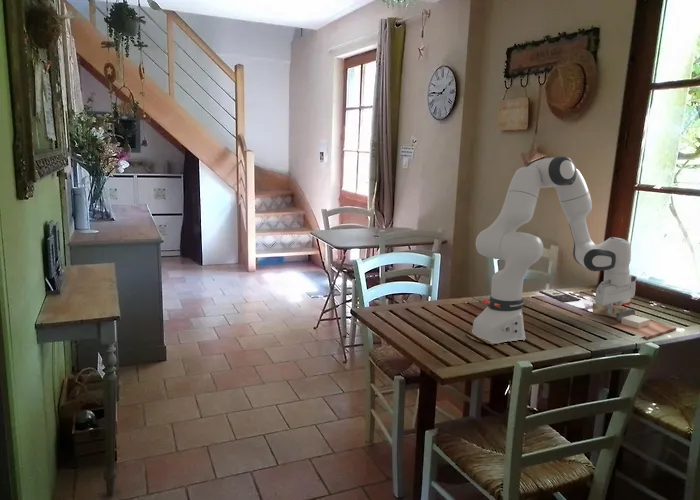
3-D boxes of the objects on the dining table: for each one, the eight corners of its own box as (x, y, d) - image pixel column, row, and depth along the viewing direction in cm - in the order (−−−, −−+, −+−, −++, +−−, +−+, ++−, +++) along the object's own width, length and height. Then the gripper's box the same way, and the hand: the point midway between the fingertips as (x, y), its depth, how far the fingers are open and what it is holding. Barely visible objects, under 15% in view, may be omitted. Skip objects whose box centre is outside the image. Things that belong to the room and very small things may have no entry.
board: (647, 339, 187) (647, 336, 187) (579, 318, 211) (579, 316, 211) (676, 330, 196) (676, 327, 196) (608, 310, 220) (608, 308, 220)
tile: (638, 328, 196) (638, 322, 195) (621, 323, 202) (621, 317, 201) (649, 324, 199) (650, 319, 199) (632, 319, 205) (632, 314, 205)
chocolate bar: (563, 301, 233) (538, 291, 250) (563, 303, 233) (538, 293, 250) (580, 299, 235) (555, 289, 252) (580, 301, 235) (555, 291, 252)
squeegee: (586, 314, 213) (586, 304, 212) (602, 310, 218) (602, 300, 217) (618, 321, 201) (618, 311, 200) (634, 316, 206) (634, 306, 205)
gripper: (606, 284, 197) (604, 318, 200) (639, 276, 207) (636, 309, 210) (591, 280, 203) (589, 314, 206) (624, 273, 213) (622, 305, 215)
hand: (613, 312), depth 208 cm, fingers open, 2 cm apart
